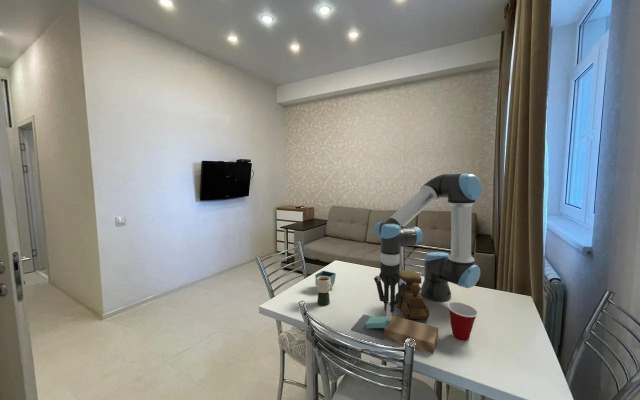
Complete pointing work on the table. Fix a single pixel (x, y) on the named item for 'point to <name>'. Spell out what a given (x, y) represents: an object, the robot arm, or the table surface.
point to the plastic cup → (461, 319)
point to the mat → (372, 332)
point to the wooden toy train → (412, 297)
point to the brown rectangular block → (412, 333)
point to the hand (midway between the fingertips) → (389, 318)
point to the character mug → (323, 289)
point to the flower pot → (326, 273)
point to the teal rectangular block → (377, 322)
